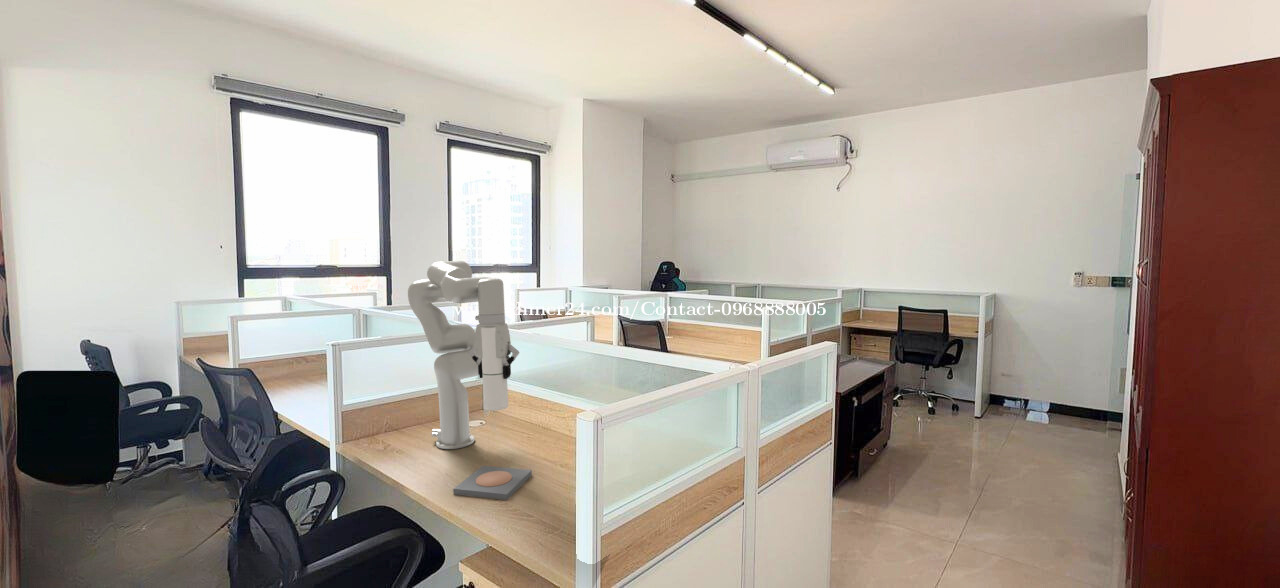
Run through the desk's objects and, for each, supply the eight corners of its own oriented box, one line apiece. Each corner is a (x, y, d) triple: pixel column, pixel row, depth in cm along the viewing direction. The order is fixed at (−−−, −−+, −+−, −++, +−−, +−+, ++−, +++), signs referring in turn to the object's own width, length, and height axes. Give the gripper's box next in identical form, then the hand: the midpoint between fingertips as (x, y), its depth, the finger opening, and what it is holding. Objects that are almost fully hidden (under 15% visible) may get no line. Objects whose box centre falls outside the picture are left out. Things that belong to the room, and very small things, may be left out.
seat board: (453, 494, 151) (453, 488, 151) (482, 470, 167) (482, 464, 167) (506, 499, 148) (506, 493, 148) (531, 475, 163) (531, 469, 163)
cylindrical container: (512, 404, 170) (509, 324, 168) (500, 411, 164) (496, 327, 161) (492, 403, 172) (488, 324, 170) (479, 409, 166) (475, 327, 164)
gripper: (459, 321, 164) (462, 379, 165) (513, 321, 160) (516, 381, 162) (472, 317, 171) (474, 374, 173) (524, 318, 168) (526, 375, 169)
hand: (494, 377), depth 167 cm, fingers closed on cylindrical container, 7 cm apart
